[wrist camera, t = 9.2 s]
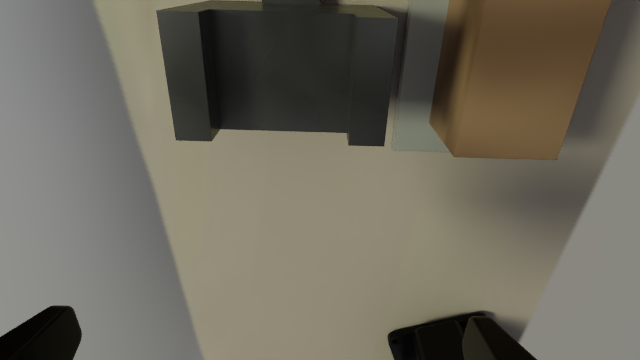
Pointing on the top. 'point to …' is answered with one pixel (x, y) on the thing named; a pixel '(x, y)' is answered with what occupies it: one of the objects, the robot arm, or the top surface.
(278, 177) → the top surface
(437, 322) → the robot arm
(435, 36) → the pad
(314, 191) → the top surface
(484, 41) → the rail
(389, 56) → the rack
